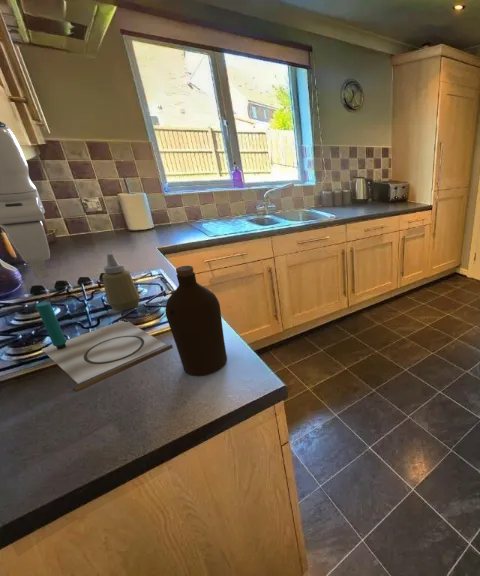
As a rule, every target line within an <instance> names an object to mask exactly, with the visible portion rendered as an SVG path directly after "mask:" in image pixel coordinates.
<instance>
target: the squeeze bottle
mask: <svg viewBox="0 0 480 576" xmlns="http://www.w3.org/2000/svg"><path fill="white" fill-rule="evenodd" d="M106 263H107V264H106V265H104V266H103V271H104V273H103V274H102V275H101V276H102V277H101V278H102V282H103V288H104V292H105V298H106V301H107V304H108V305H109V307H111V308H112V310H114V311H118V312H119V311H120V312H122V311H127V310H131V309H134V308H135V309H138V308H139V305H140V297H141V295H140V294H139V292H138V289H137V287H136V284H135V282H134V279H133V277H132V275H131V273H130V271H129V270H127V269H125V266H124V264H123V263H120V262H118V261H117V259H116V257H115V255H114V254H113V253H111V252H110V253H107V254H106Z"/></svg>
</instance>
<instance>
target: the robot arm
mask: <svg viewBox="0 0 480 576" xmlns="http://www.w3.org/2000/svg"><path fill="white" fill-rule="evenodd" d="M26 159H27V158H26V156H25V154H24V152H23V150H22V147H21V145H20V143H19V141H18V139H17V138H16V136H15V134H14V132H13V131H12V130H11V128H10V127H9V126H8V125H7V124H6V123H5V122H2V121H0V228H1V229H2V230H4V232H5V235H6V237H7V240H8V242H10V244H11V245H12V246H13V247H14V249H15V250H16V252H17V253H18V254H19V255H20V257H21V259H22V260H23V262H25V264H26V265H27V267H29V268H31V269H32V271H33V273H34V276H35V277H36V278H37V279H39V280H41V279H45V278H48V277H49V272H48V270H47V264H46V261H48V260H50V259H51V251H50V246H49V241H48V239H47V234H46V231H45V227H44V224H43V221H45V220H46V217H45V215H44V214H45V213H46V210H45V208H44V205H43V202H42V200H41V196H40V194H39V192H38V188H37V187H36V185H35V184H34V183H33V181H32V179H31V178H30V173H29V169H30V168H29V164H28V162H27V160H26Z"/></svg>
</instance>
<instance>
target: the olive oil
mask: <svg viewBox="0 0 480 576" xmlns="http://www.w3.org/2000/svg"><path fill="white" fill-rule="evenodd" d="M175 272H176V279H177V282H178V286H177V287H176V288H175V290H174V291H173V292H172V293H171V295H169V298H168V299H167V300H166V304H165V317H166V320H167V323H168V326H169V328H170V331H171V334H172V337H173V341H174V343H175V347H176V349H177V352H178V356H179V358H180V362H181V365H182V369H183V371H184V372H185V374H187V375H189V376H193V377H201V376H207V375H210V374H213V373H215V372H217V371H219V370H221V369H222V368H223V367H224V366H225V365H226V363H227V361H228V357H227V350H226V349H227V348H226V343H225V337H224V328H223V320H222V313H221V312H222V311H221V304H220V301H219V299H218V297H217V296H216V294H215V293H214V292H213V291H211V290H210V289H208V288H206V287H205V286H203V285H202V284H199V283H198V282H197V277H196V273H195V271H194V267H193V266H192V265H182V266H179V267H176V268H175Z"/></svg>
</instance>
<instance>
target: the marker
mask: <svg viewBox="0 0 480 576" xmlns="http://www.w3.org/2000/svg"><path fill="white" fill-rule="evenodd" d="M35 308H36V310H37V313H38V314H39V317H40V320H41V321H42V324H43V325H44V327H45V328H44V329H45V330H46V332H47V334H48V336H49V339H50V341H51V344H52V345H54V346H56V347H57V349H63V348H65V347H66V344H65V343H66V340H67V339H66V337H65V335H64V333H63V330H62V328H61V326H60V322H59V321H58V317H57V316H56V314H55V311H54V309H53V307H52V304H51V302H50V301H42V302H39V303H37V304H35Z"/></svg>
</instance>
